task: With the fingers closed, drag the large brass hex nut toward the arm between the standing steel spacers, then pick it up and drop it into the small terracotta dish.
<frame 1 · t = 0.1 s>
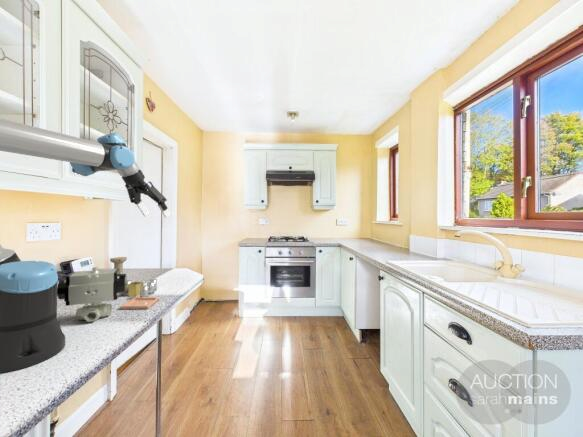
hand: (157, 215, 112), 36 cm above the counter, tool tilted 35°, fingers open, 13 cm apart
spacers: (135, 294, 111), on the counter
nut: (135, 294, 111), on the counter
ball valve: (94, 319, 86), on the counter
handle: (118, 289, 117), on the counter
dish: (140, 304, 99), on the counter
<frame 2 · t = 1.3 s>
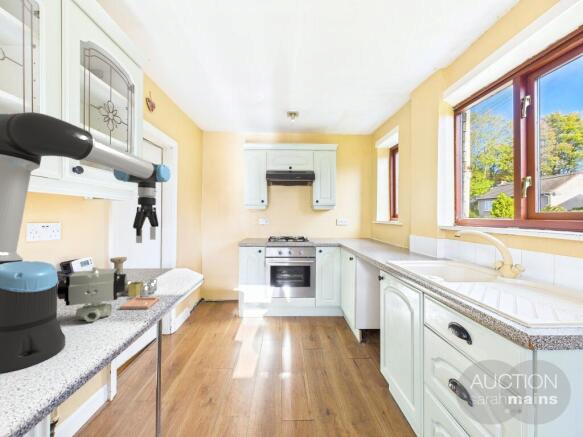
hand: (146, 241, 120), 23 cm above the counter, tool pointing down, fingers open, 12 cm apart
nothing on the counter moved.
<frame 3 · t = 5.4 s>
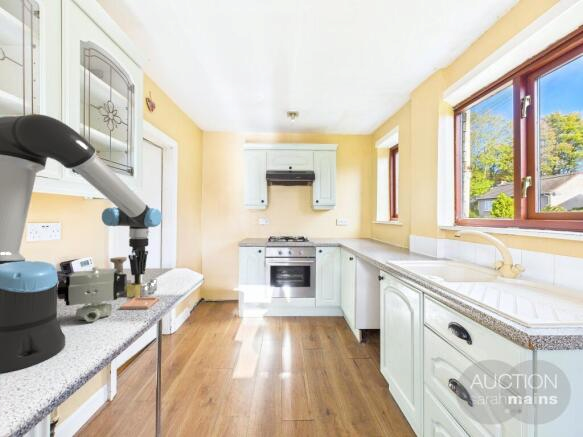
hand: (138, 288, 114), 2 cm above the counter, tool pointing down, fingers closed
nut: (134, 295, 110), on the counter, touching gripper
everything else where it was.
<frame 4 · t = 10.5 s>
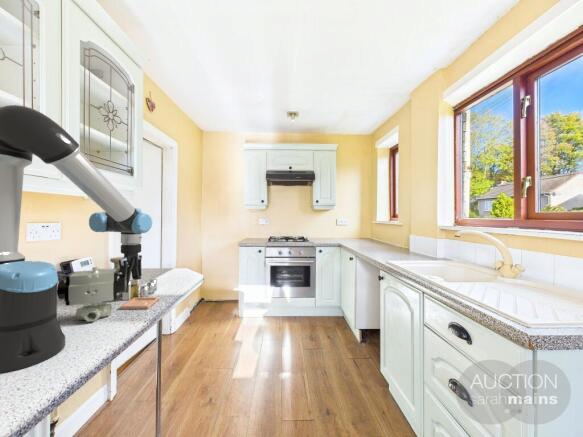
hand: (130, 296, 107), 0 cm above the counter, tool pointing down, fingers closed on nut, 6 cm apart
nut: (130, 297, 107), on the counter, touching gripper
everything else where it was.
when the fingers open (2 cm above the counter, at t = 15.0 s): nut drops 1 cm, resting on dish.
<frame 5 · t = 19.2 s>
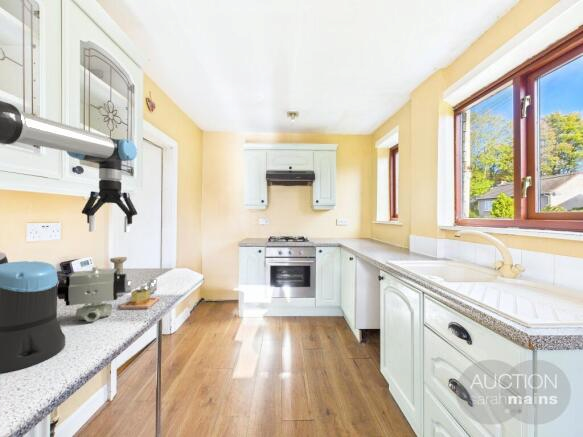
hand: (109, 231, 102), 29 cm above the counter, tool pointing down, fingers open, 13 cm apart
nut: (140, 303, 99), resting on dish
everything else where it was.
at the end: nut inside the target area on the dish (0.1 cm from its centre), point 0.5 cm above the dish's base; the gripper is holding nothing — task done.
